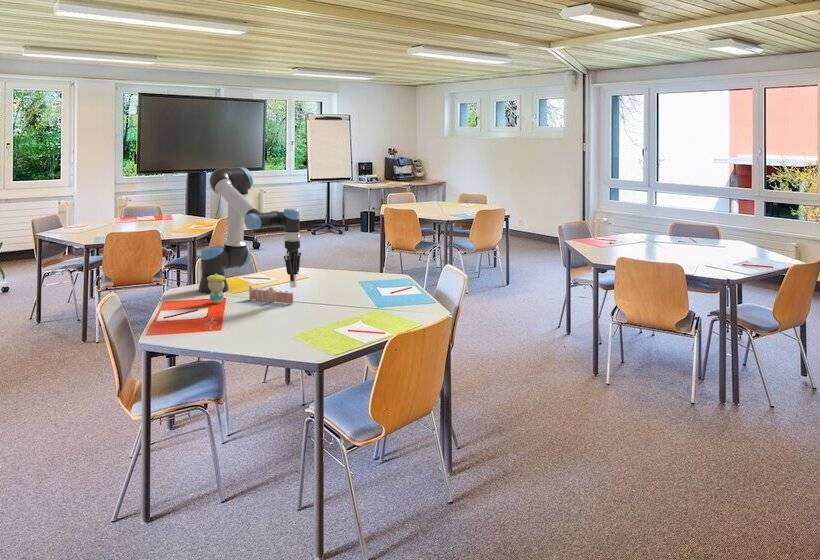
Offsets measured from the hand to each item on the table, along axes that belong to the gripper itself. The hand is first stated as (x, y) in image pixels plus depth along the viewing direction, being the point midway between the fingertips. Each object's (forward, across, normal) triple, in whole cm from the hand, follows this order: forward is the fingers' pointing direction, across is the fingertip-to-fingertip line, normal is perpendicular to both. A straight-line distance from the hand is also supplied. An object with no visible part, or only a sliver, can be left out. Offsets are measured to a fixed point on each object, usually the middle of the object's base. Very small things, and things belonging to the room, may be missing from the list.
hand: (293, 287), depth 331 cm
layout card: (+8, -9, +9) cm, 15 cm away
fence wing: (+7, -5, +3) cm, 9 cm away
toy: (+7, -18, +32) cm, 38 cm away
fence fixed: (+7, -5, +15) cm, 18 cm away
